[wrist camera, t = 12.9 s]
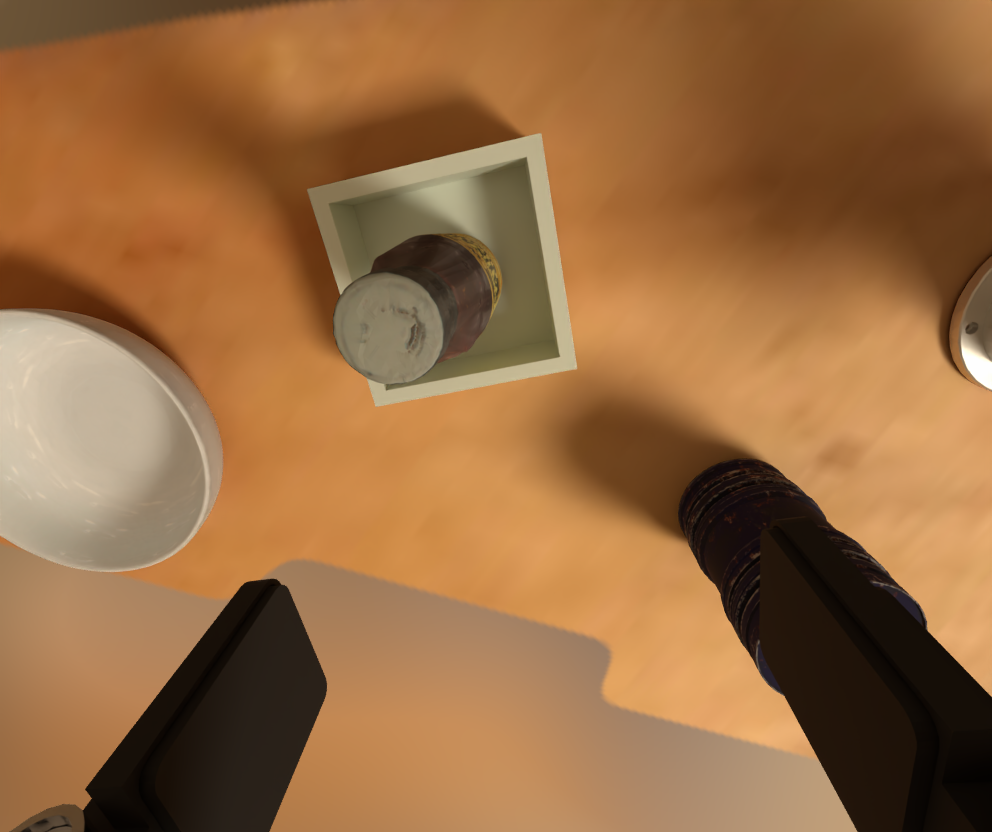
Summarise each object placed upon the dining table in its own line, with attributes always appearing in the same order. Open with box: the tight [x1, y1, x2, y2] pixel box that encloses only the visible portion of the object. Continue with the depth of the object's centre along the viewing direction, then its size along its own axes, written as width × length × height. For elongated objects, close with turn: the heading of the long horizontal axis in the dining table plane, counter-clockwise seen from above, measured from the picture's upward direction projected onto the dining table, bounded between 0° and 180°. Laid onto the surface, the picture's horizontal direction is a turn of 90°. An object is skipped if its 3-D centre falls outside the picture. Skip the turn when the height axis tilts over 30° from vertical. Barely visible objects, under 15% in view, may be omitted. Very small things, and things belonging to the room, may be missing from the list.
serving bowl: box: [0, 308, 223, 572], centre depth 39 cm, size 21×21×7 cm
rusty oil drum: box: [678, 459, 927, 696], centre depth 36 cm, size 10×10×15 cm
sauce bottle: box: [333, 233, 502, 384], centre depth 26 cm, size 7×6×20 cm
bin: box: [307, 133, 577, 407], centre depth 34 cm, size 14×14×6 cm
